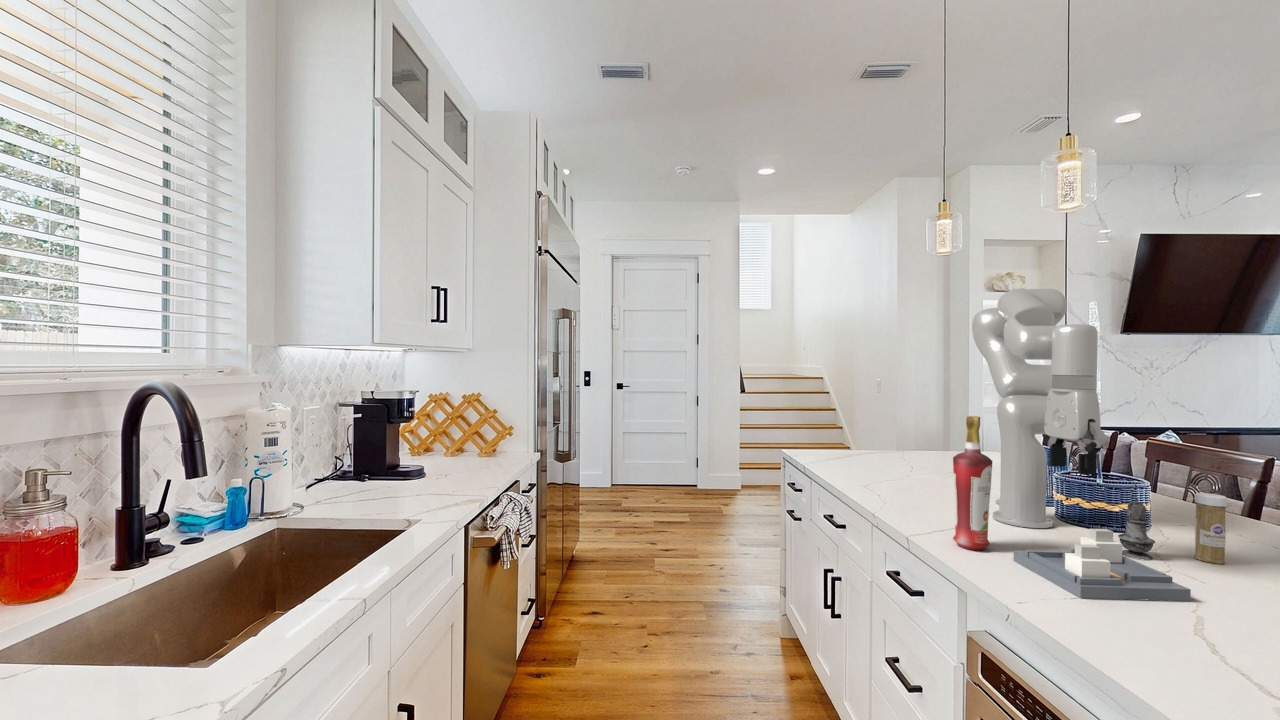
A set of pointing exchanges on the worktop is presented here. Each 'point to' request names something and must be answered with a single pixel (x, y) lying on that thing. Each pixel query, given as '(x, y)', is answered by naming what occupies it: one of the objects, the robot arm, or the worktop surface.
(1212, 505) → the sprinkles bottle
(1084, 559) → the tab
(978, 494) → the liquor
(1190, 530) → the worktop surface
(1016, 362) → the robot arm
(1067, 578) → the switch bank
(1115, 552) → the tab
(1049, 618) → the worktop surface
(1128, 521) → the grey bust statue
